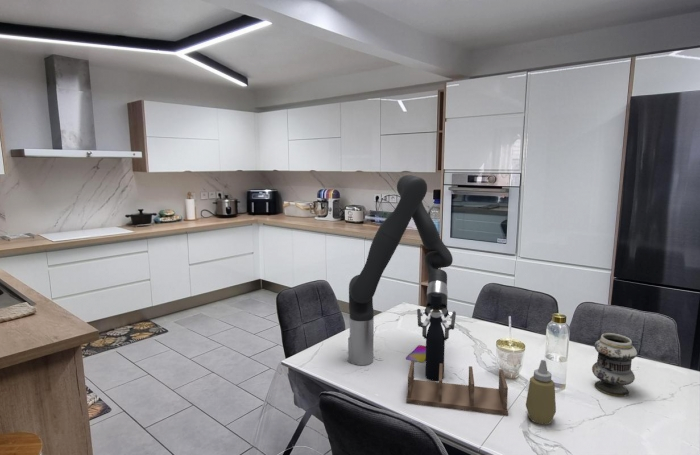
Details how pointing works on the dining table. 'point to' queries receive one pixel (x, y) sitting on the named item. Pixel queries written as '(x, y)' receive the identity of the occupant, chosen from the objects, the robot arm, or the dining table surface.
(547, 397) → the squeeze bottle
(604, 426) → the dining table surface
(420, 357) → the smartphone
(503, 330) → the dining table surface
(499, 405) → the slot rack
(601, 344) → the apothecary jar
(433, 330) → the black bottle
